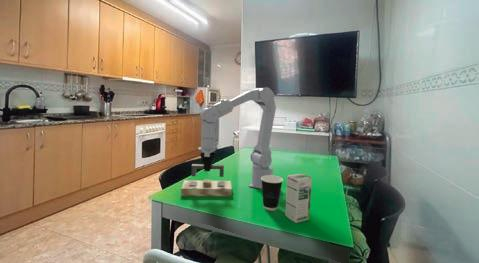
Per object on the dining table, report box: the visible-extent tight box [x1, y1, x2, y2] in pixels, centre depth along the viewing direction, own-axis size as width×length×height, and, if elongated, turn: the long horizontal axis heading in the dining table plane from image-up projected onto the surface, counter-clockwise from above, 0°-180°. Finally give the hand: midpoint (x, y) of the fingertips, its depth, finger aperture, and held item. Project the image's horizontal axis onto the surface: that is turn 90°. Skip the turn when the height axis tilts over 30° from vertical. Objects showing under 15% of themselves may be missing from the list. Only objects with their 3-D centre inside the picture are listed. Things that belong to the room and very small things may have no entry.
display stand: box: [180, 178, 233, 197], centre depth 102 cm, size 20×10×5 cm, turn 95°
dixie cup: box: [261, 174, 284, 212], centre depth 89 cm, size 8×8×11 cm
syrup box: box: [285, 173, 313, 224], centre depth 81 cm, size 6×6×14 cm
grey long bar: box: [191, 163, 225, 178], centre depth 102 cm, size 13×2×4 cm, turn 95°
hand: (207, 170), depth 102 cm, fingers closed on grey long bar, 2 cm apart
